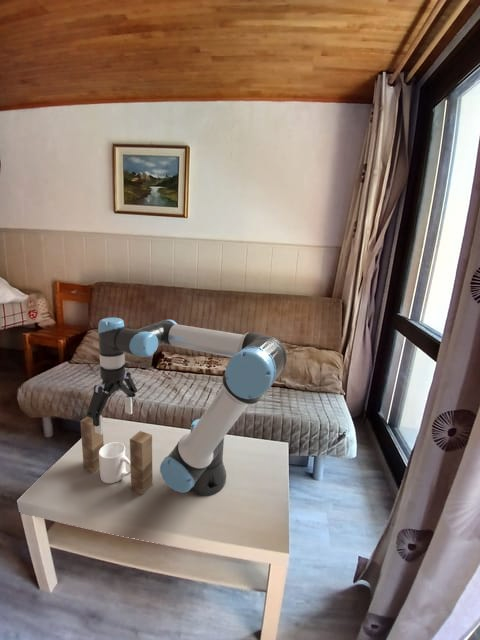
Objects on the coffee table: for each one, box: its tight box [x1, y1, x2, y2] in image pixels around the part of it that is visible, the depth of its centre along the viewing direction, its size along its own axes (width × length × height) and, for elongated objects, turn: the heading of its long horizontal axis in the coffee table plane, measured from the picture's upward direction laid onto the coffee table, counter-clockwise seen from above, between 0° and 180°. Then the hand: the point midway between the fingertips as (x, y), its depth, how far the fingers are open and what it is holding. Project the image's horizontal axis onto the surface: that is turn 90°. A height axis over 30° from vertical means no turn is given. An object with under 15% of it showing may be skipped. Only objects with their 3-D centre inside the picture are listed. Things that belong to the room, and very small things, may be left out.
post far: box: [79, 416, 105, 474], centre depth 112 cm, size 5×5×20 cm
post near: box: [129, 430, 153, 495], centre depth 104 cm, size 5×5×20 cm
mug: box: [99, 441, 131, 484], centre depth 109 cm, size 9×12×11 cm
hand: (114, 422), depth 105 cm, fingers open, 13 cm apart
